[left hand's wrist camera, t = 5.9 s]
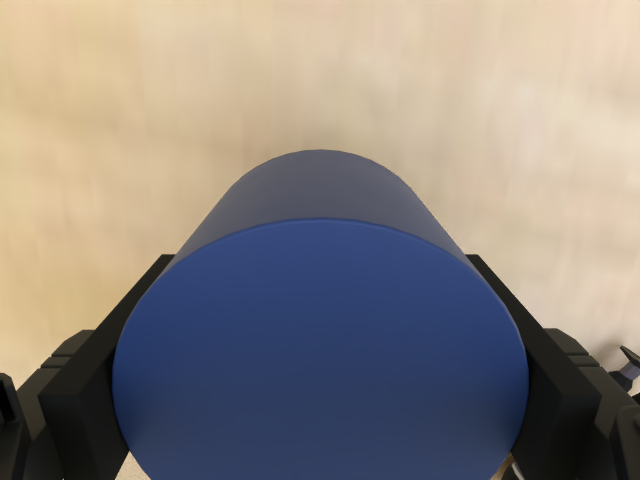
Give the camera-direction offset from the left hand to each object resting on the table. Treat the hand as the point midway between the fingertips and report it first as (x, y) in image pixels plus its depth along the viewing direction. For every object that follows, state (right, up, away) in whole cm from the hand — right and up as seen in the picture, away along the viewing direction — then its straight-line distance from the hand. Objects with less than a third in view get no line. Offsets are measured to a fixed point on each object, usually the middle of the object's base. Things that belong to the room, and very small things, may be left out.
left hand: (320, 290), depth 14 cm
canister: (0, +1, +2) cm, 2 cm away
